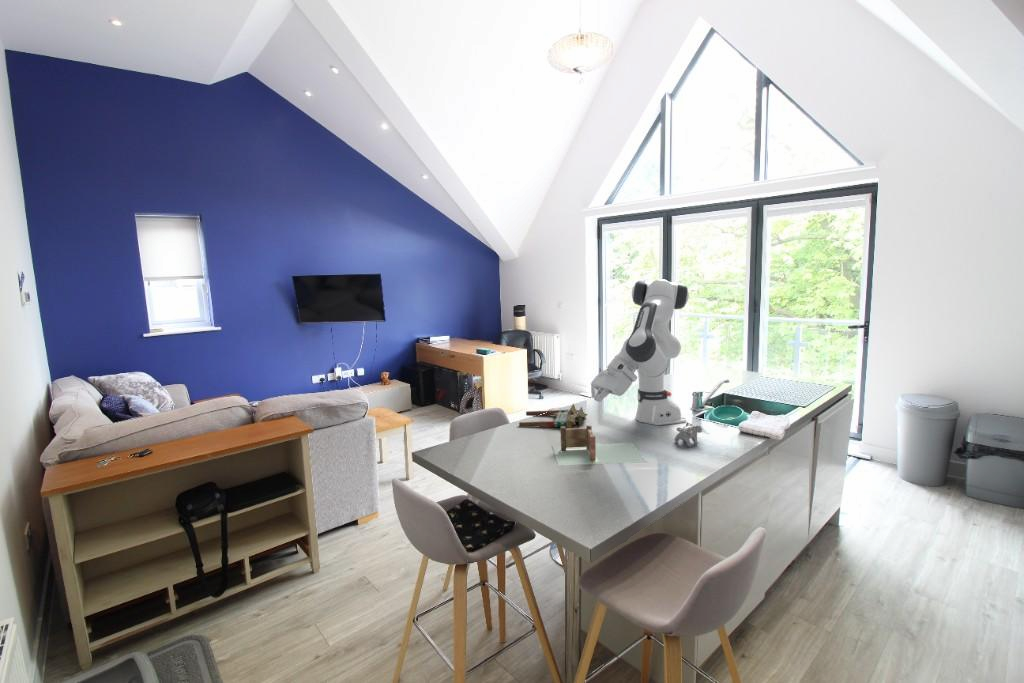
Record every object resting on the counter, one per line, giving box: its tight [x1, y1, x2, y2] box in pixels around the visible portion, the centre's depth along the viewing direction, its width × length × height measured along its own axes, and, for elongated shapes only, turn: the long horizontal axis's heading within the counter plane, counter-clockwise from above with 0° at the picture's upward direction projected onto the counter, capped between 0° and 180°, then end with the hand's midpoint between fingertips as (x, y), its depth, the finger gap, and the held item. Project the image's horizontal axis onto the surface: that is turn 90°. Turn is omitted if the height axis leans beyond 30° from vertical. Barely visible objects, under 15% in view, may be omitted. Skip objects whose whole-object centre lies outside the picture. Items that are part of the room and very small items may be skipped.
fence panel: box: [588, 429, 597, 460], centre depth 180 cm, size 11×2×9 cm, turn 177°
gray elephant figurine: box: [674, 421, 703, 448], centre depth 193 cm, size 9×12×8 cm
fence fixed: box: [560, 425, 593, 451], centre depth 187 cm, size 12×2×9 cm, turn 92°
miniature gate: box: [518, 403, 588, 429], centre depth 226 cm, size 27×6×30 cm
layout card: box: [554, 442, 648, 467], centre depth 183 cm, size 32×20×1 cm, turn 92°
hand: (596, 400), depth 173 cm, fingers closed
